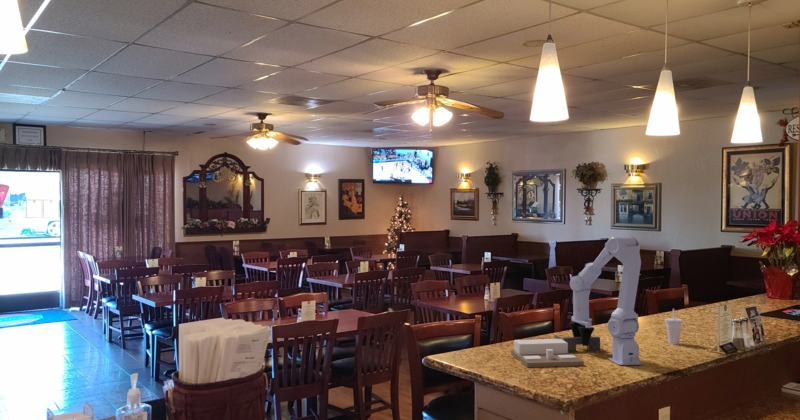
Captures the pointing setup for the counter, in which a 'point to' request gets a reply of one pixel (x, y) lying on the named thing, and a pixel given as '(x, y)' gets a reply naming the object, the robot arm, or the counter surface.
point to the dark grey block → (581, 343)
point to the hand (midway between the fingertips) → (581, 343)
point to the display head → (544, 353)
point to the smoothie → (673, 329)
